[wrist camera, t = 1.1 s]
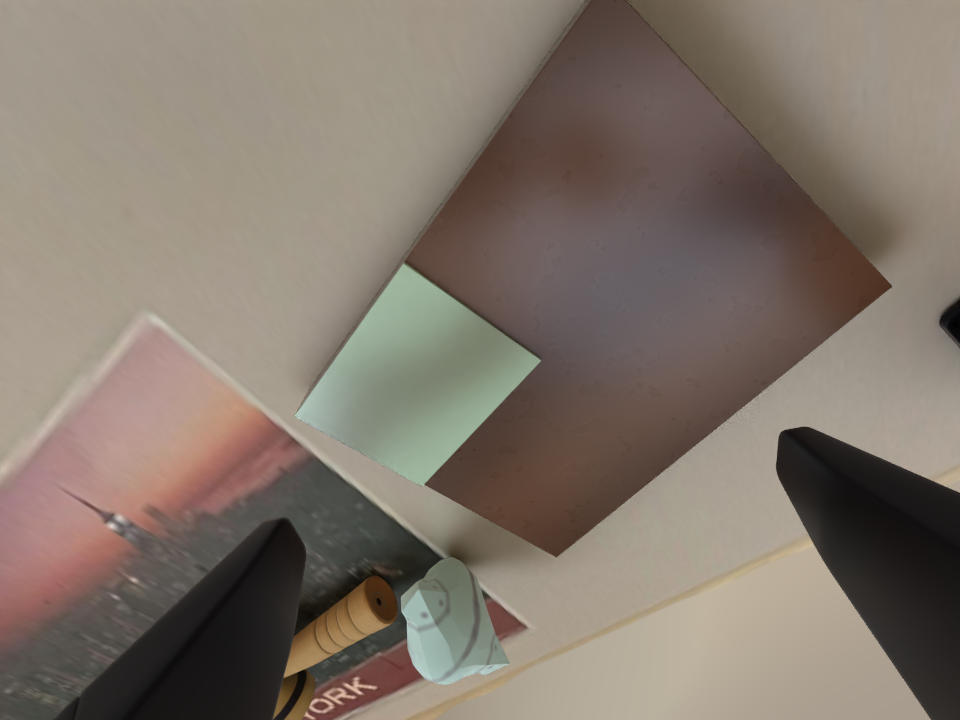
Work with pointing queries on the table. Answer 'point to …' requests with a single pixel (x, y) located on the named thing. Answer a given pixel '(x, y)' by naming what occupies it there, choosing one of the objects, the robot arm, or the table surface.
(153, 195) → the table surface
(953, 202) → the table surface
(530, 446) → the walnut board
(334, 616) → the kendama
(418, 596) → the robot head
